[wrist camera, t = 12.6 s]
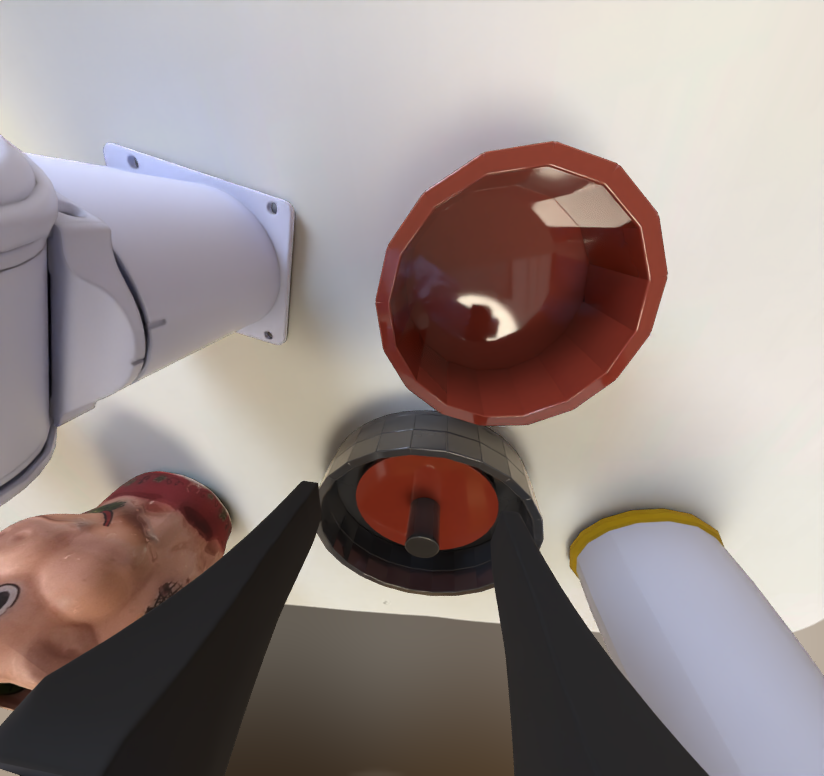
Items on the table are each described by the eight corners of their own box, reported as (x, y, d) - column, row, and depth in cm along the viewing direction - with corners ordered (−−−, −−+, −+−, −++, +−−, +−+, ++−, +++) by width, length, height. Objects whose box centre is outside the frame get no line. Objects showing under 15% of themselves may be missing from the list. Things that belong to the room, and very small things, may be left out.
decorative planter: (289, 570, 33) (198, 769, 21) (199, 569, 35) (70, 748, 23) (195, 431, 24) (-66, 645, 12) (81, 442, 26) (-237, 631, 14)
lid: (341, 508, 26) (323, 558, 22) (391, 419, 20) (377, 464, 16) (452, 553, 27) (453, 606, 23) (526, 480, 22) (543, 535, 18)
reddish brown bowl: (379, 346, 18) (355, 388, 14) (430, 139, 13) (420, 91, 8) (534, 394, 19) (562, 451, 14) (643, 214, 13) (746, 208, 9)
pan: (321, 521, 28) (302, 564, 24) (349, 381, 20) (328, 415, 16) (480, 566, 29) (484, 614, 25) (570, 449, 20) (595, 495, 17)
